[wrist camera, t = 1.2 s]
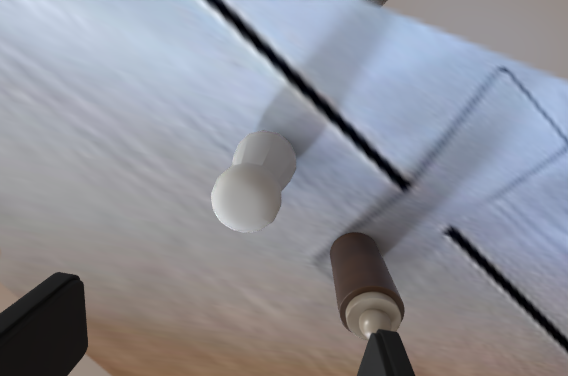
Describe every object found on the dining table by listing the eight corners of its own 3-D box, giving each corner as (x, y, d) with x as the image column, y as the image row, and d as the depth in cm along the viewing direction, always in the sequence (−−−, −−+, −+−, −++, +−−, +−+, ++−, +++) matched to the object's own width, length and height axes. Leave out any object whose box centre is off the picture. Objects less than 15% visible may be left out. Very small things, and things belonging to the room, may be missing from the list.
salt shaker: (248, 188, 31) (211, 257, 18) (232, 135, 29) (178, 170, 17) (303, 176, 30) (302, 239, 17) (289, 120, 28) (278, 146, 16)
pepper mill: (336, 228, 31) (352, 301, 21) (383, 237, 31) (425, 315, 21) (325, 268, 33) (335, 356, 22) (370, 277, 33) (403, 369, 22)
